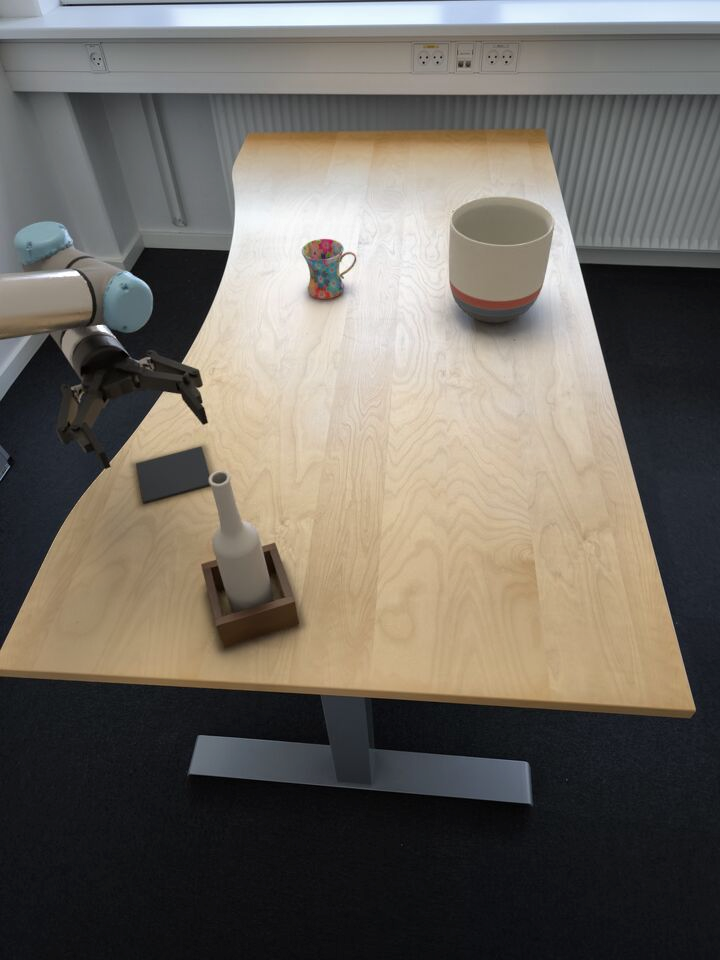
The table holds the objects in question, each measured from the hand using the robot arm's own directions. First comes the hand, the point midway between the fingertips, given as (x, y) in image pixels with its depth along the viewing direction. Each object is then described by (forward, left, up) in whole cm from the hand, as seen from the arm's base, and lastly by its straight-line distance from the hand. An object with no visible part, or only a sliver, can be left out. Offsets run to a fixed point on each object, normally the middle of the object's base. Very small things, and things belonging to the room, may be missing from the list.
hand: (155, 438), depth 93 cm
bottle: (+6, -9, -29) cm, 31 cm away
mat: (-1, +23, -29) cm, 38 cm away
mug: (+43, +69, -29) cm, 87 cm away
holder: (+6, -9, -29) cm, 31 cm away
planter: (+73, +47, -29) cm, 92 cm away
